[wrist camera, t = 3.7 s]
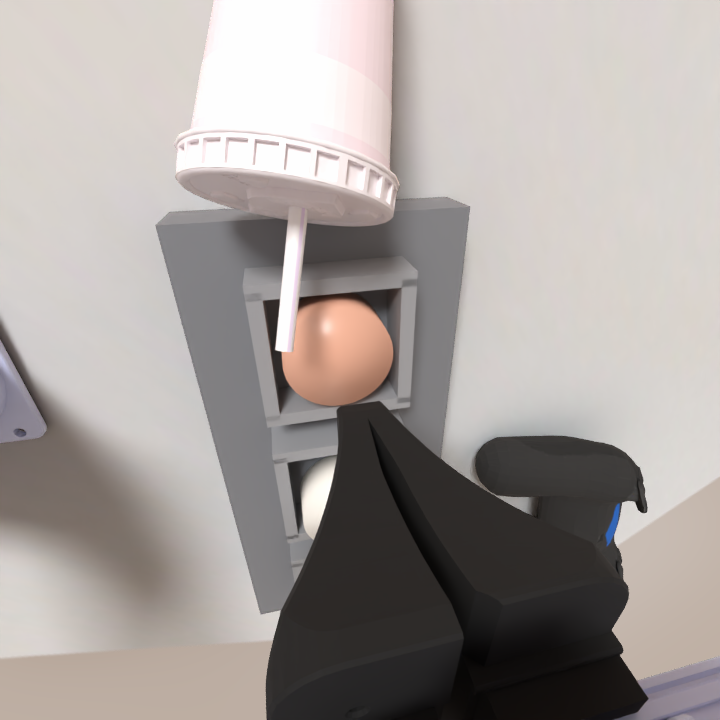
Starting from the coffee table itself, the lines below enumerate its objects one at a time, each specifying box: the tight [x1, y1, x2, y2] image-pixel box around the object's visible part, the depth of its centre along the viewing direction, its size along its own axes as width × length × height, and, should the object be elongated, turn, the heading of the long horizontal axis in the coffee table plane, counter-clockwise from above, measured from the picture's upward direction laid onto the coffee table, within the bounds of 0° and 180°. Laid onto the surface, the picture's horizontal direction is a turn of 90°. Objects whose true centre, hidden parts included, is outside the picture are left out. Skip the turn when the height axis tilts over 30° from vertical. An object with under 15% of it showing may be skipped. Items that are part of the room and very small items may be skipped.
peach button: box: [281, 292, 393, 406], centre depth 17 cm, size 4×4×2 cm
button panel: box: [156, 197, 470, 614], centre depth 22 cm, size 12×26×4 cm, turn 1°
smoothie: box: [174, 0, 400, 352], centre depth 12 cm, size 6×6×14 cm
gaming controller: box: [475, 436, 647, 581], centre depth 29 cm, size 17×6×10 cm
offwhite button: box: [300, 455, 337, 540], centre depth 20 cm, size 4×4×2 cm
